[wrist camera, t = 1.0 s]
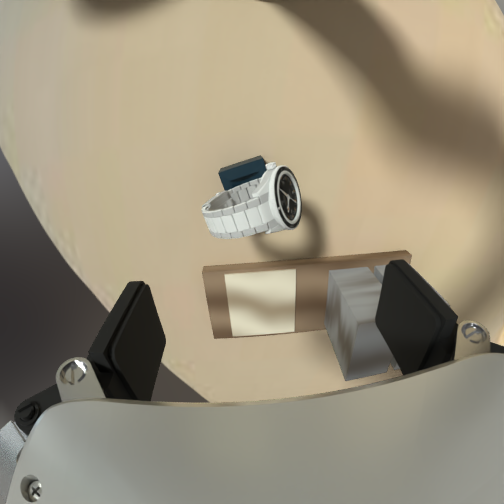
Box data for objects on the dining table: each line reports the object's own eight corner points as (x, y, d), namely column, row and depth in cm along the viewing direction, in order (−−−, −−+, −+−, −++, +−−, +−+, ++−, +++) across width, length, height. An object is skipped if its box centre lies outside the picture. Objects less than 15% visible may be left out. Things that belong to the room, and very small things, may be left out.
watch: (293, 198, 29) (320, 236, 19) (222, 221, 30) (213, 269, 20) (278, 149, 27) (300, 159, 17) (204, 173, 28) (183, 198, 18)
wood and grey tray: (203, 266, 32) (188, 330, 22) (406, 250, 32) (456, 297, 22) (215, 331, 36) (208, 399, 26) (393, 311, 37) (428, 364, 26)
